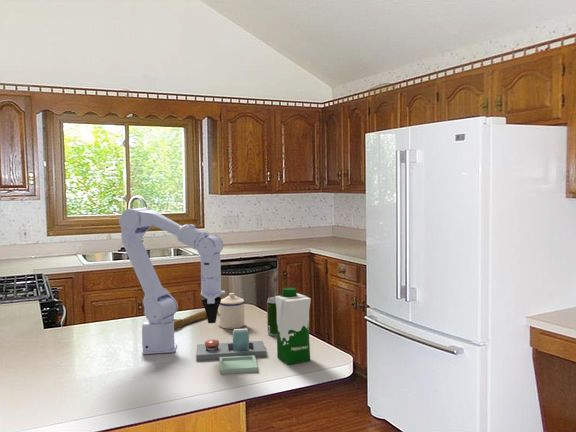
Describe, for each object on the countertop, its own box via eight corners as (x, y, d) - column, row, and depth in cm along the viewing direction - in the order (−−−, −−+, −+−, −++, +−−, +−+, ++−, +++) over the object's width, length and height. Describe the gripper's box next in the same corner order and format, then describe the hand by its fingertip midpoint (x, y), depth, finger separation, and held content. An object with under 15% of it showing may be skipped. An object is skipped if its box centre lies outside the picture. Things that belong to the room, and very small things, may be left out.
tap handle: (212, 309, 198) (157, 328, 172) (212, 317, 198) (157, 337, 172) (206, 308, 200) (150, 327, 174) (206, 316, 200) (150, 336, 174)
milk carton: (299, 352, 154) (298, 285, 153) (315, 361, 146) (314, 291, 145) (273, 357, 150) (271, 288, 149) (287, 366, 142) (286, 294, 141)
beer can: (273, 337, 170) (272, 301, 169) (264, 333, 174) (264, 298, 174) (286, 334, 173) (286, 298, 172) (278, 330, 177) (277, 296, 176)
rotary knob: (233, 355, 152) (232, 332, 152) (232, 350, 157) (232, 327, 156) (249, 354, 153) (249, 331, 152) (248, 349, 158) (248, 326, 157)
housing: (196, 360, 148) (196, 355, 148) (197, 349, 158) (197, 344, 158) (266, 356, 151) (266, 350, 151) (262, 345, 161) (262, 340, 161)
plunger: (205, 355, 151) (205, 344, 151) (205, 351, 155) (205, 340, 155) (219, 354, 152) (218, 343, 152) (218, 350, 156) (218, 339, 156)
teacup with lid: (250, 324, 186) (249, 292, 185) (235, 330, 178) (234, 297, 177) (223, 320, 192) (222, 289, 191) (207, 326, 184) (206, 293, 183)
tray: (220, 374, 137) (219, 369, 137) (219, 361, 147) (219, 357, 147) (257, 371, 139) (257, 367, 138) (254, 359, 148) (254, 355, 148)
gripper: (224, 280, 146) (225, 328, 146) (224, 272, 160) (225, 315, 161) (199, 281, 145) (200, 329, 145) (201, 273, 159) (202, 316, 160)
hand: (211, 322), depth 153 cm, fingers closed
